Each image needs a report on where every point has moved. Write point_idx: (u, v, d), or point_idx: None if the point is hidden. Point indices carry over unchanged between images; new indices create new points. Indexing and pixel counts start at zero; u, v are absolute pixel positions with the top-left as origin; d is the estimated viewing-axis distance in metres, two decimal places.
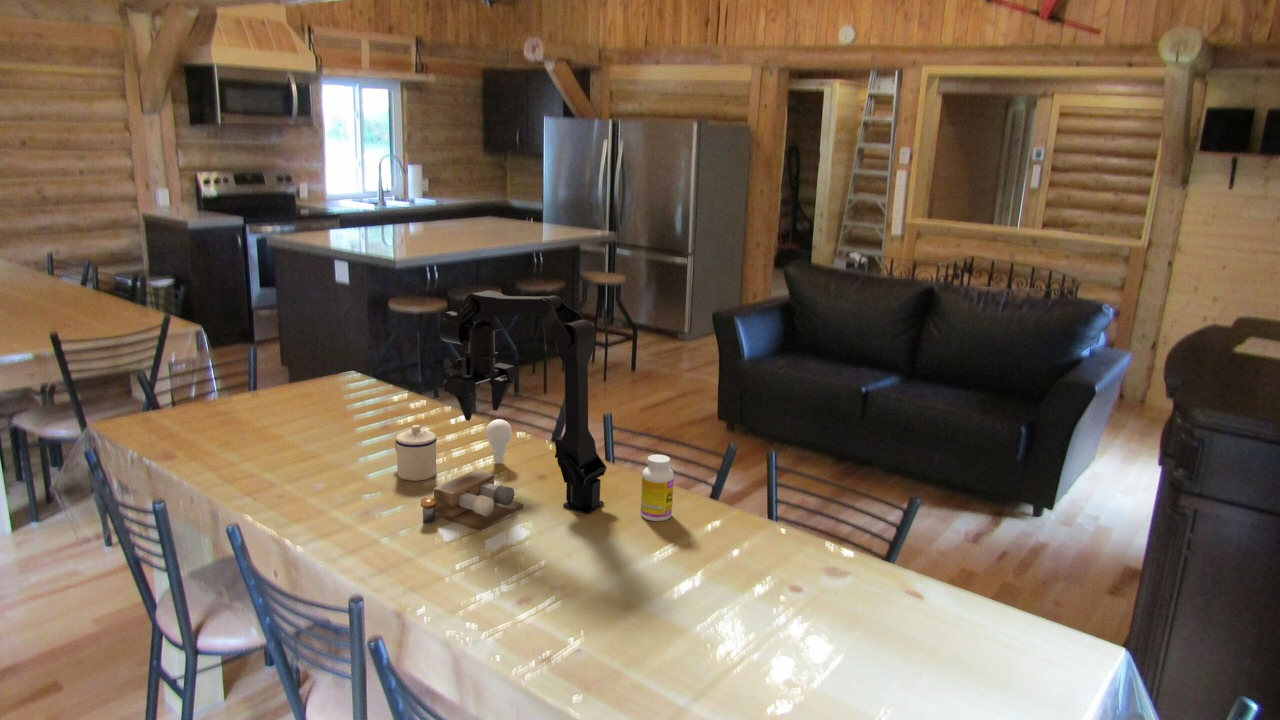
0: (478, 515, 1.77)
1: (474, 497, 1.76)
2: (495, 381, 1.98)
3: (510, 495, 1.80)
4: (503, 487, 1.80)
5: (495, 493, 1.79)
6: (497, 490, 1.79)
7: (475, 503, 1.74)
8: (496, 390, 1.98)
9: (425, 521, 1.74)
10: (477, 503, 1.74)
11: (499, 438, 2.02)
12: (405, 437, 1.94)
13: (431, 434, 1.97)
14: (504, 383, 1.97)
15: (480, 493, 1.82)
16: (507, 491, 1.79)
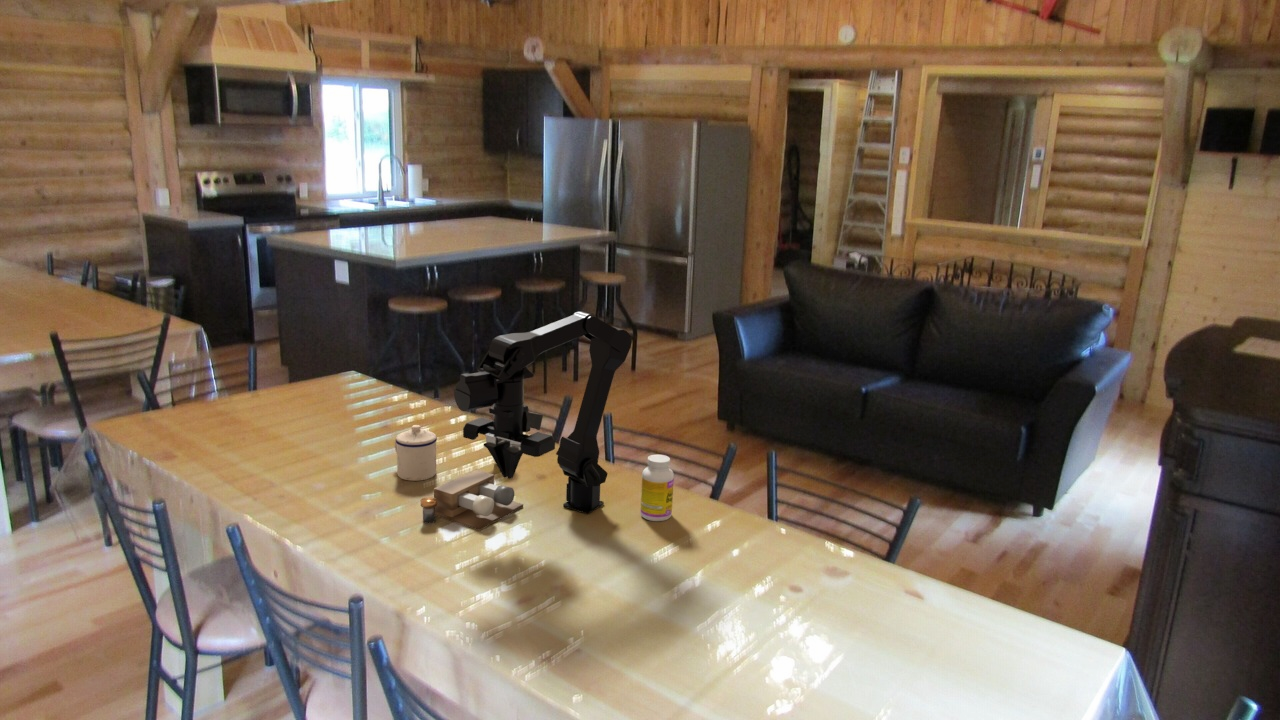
0: (478, 515, 1.77)
1: (474, 497, 1.76)
2: None
3: (510, 495, 1.80)
4: (503, 487, 1.80)
5: (495, 493, 1.79)
6: (497, 490, 1.79)
7: (475, 503, 1.74)
8: None
9: (425, 521, 1.74)
10: (477, 503, 1.74)
11: None
12: (405, 437, 1.94)
13: (431, 434, 1.97)
14: None
15: (480, 493, 1.82)
16: (507, 491, 1.79)
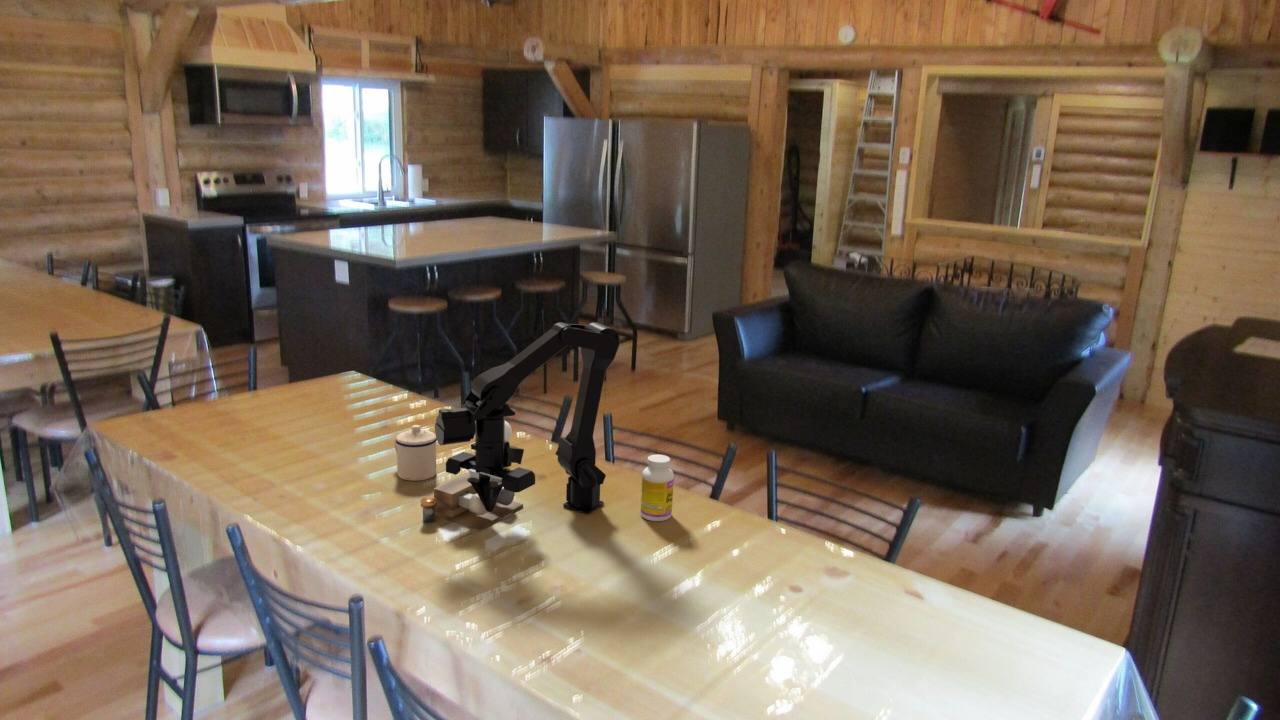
0: (478, 515, 1.77)
1: (470, 496, 1.77)
2: None
3: (510, 495, 1.80)
4: None
5: None
6: None
7: (471, 502, 1.74)
8: None
9: (425, 521, 1.74)
10: (473, 502, 1.74)
11: None
12: (405, 437, 1.94)
13: (431, 434, 1.97)
14: None
15: None
16: (507, 491, 1.79)
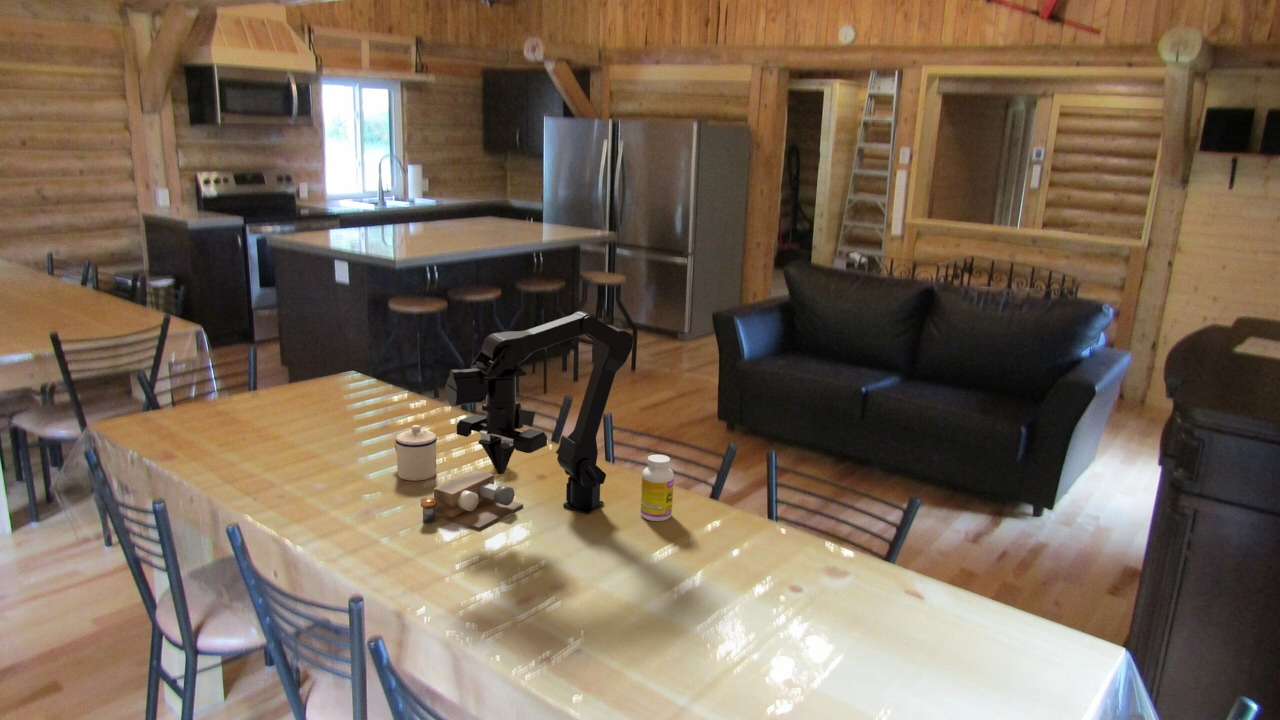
0: (478, 515, 1.77)
1: None
2: None
3: (510, 495, 1.80)
4: (503, 487, 1.80)
5: (495, 493, 1.79)
6: (497, 490, 1.79)
7: (459, 498, 1.76)
8: None
9: (425, 521, 1.74)
10: (461, 498, 1.76)
11: None
12: (405, 437, 1.94)
13: (431, 434, 1.97)
14: None
15: (480, 493, 1.82)
16: (507, 491, 1.79)
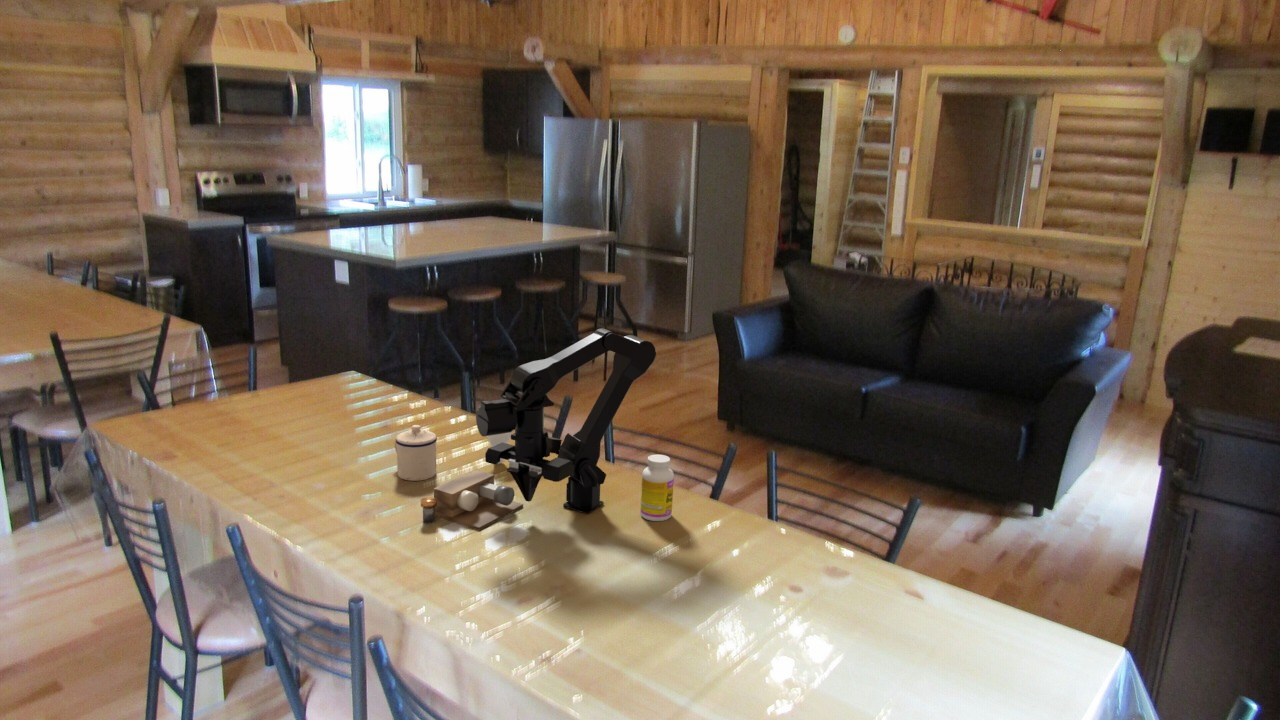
0: (478, 515, 1.77)
1: None
2: None
3: (510, 495, 1.80)
4: (503, 487, 1.80)
5: (495, 493, 1.79)
6: (497, 490, 1.79)
7: (459, 498, 1.76)
8: None
9: (425, 521, 1.74)
10: (461, 498, 1.76)
11: (499, 438, 2.02)
12: (405, 437, 1.94)
13: (431, 434, 1.97)
14: None
15: (480, 493, 1.82)
16: (507, 491, 1.79)
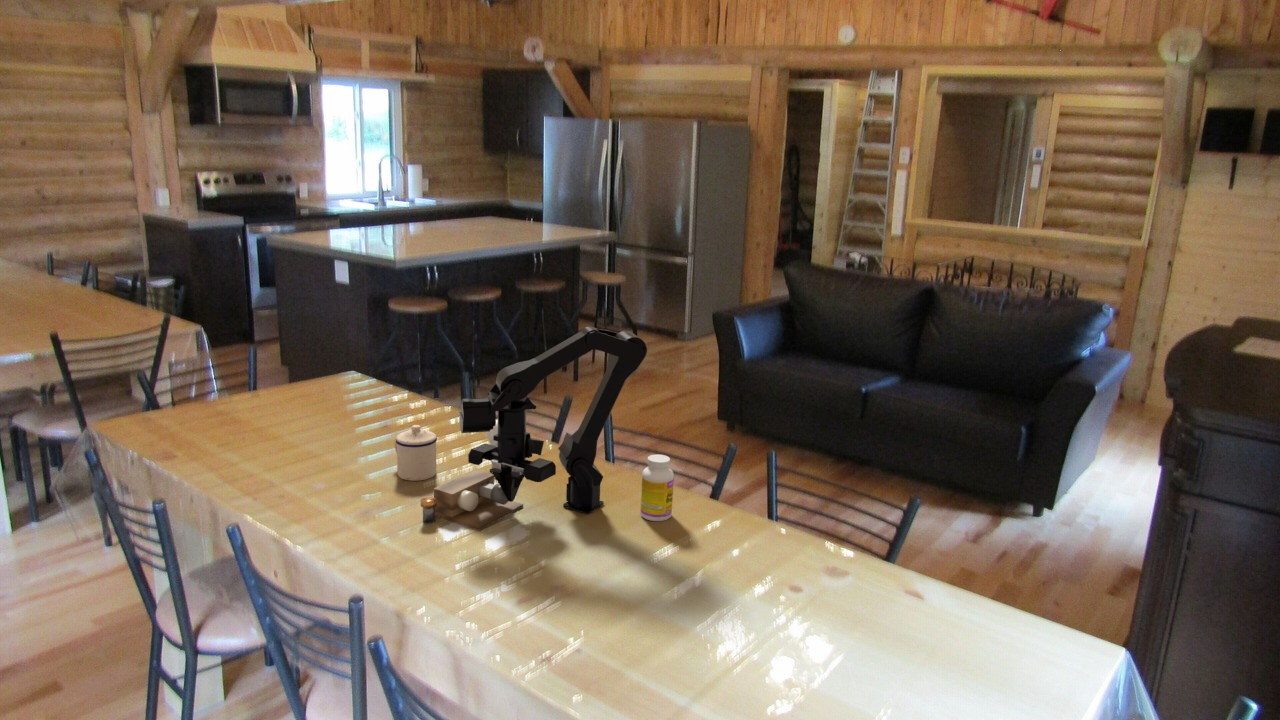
0: (478, 515, 1.77)
1: None
2: None
3: None
4: (500, 486, 1.80)
5: (492, 492, 1.80)
6: (494, 489, 1.80)
7: (459, 498, 1.76)
8: None
9: (425, 521, 1.74)
10: (461, 498, 1.76)
11: None
12: (405, 437, 1.94)
13: (431, 434, 1.97)
14: None
15: None
16: None
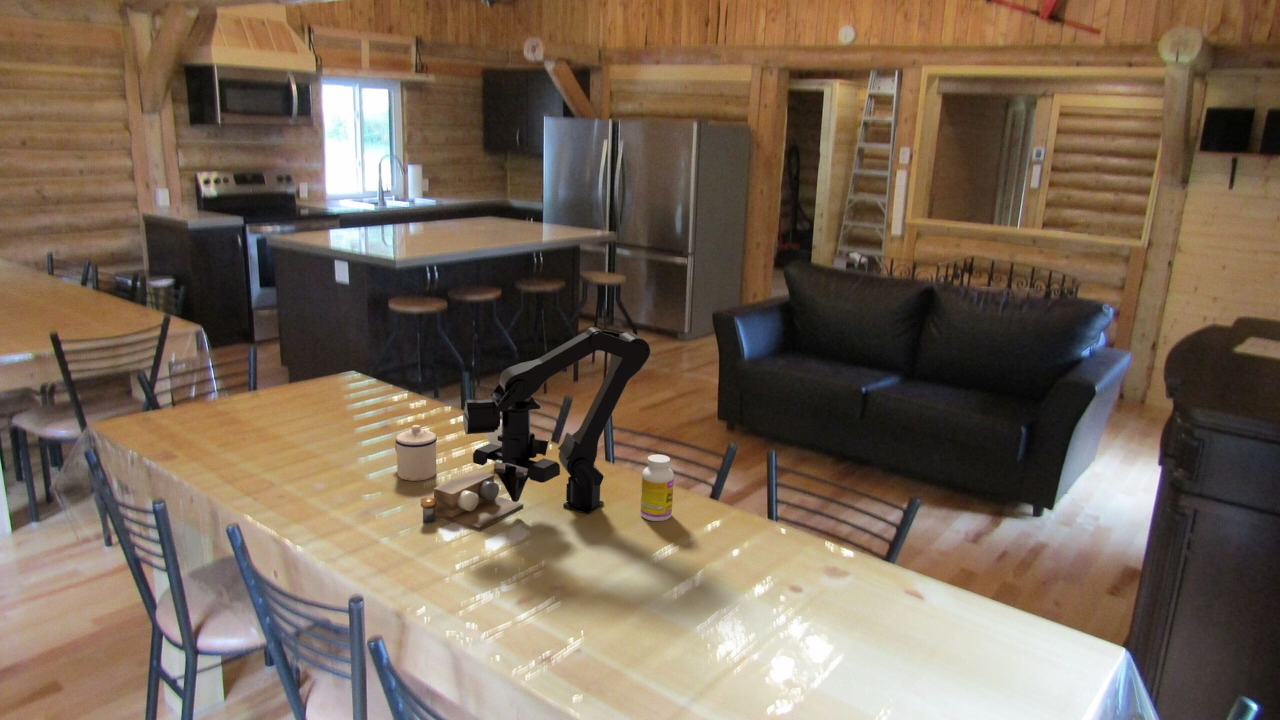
0: (478, 515, 1.77)
1: None
2: None
3: (494, 491, 1.82)
4: (488, 482, 1.82)
5: (480, 488, 1.81)
6: (482, 485, 1.81)
7: (459, 498, 1.76)
8: None
9: (425, 521, 1.74)
10: (461, 498, 1.76)
11: None
12: (405, 437, 1.94)
13: (431, 434, 1.97)
14: None
15: None
16: (491, 486, 1.81)
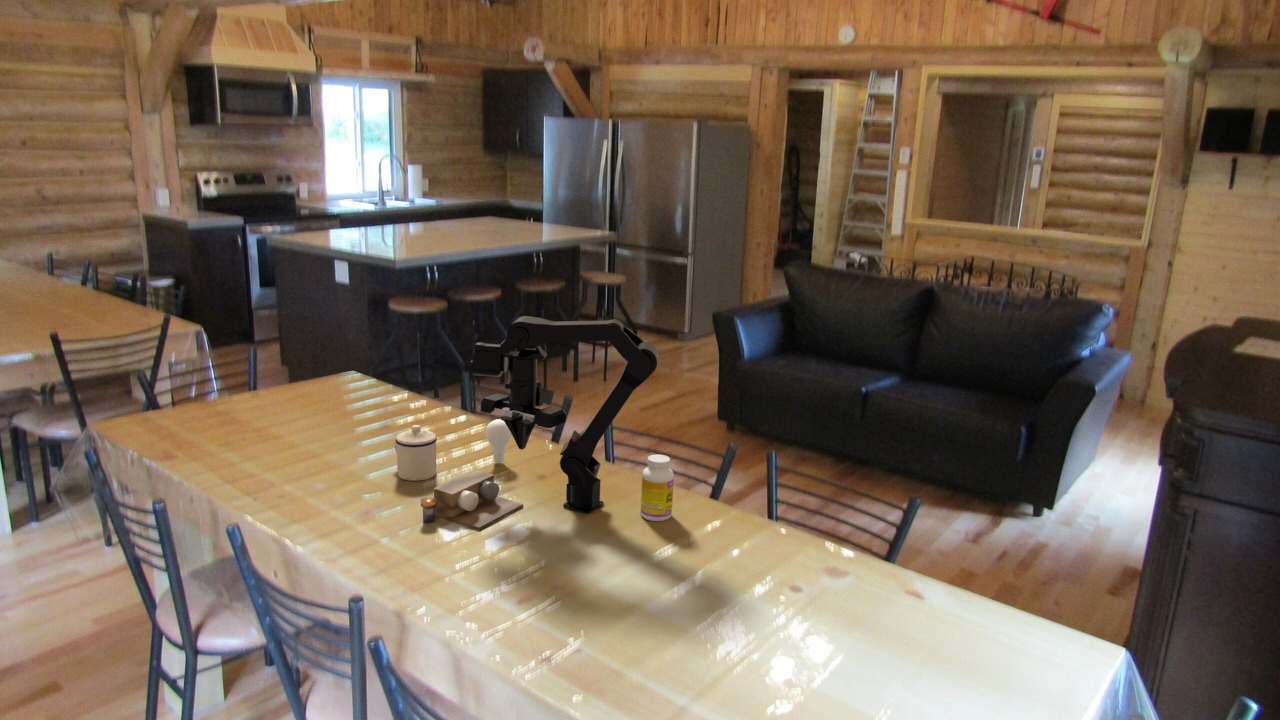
0: (478, 515, 1.77)
1: None
2: None
3: (494, 491, 1.82)
4: (488, 482, 1.82)
5: (480, 488, 1.81)
6: (482, 485, 1.81)
7: (459, 498, 1.76)
8: None
9: (425, 521, 1.74)
10: (461, 498, 1.76)
11: (499, 438, 2.02)
12: (405, 437, 1.94)
13: (431, 434, 1.97)
14: None
15: None
16: (491, 486, 1.81)
